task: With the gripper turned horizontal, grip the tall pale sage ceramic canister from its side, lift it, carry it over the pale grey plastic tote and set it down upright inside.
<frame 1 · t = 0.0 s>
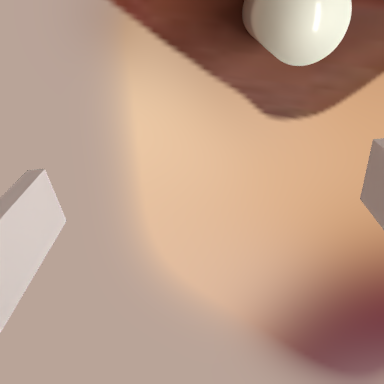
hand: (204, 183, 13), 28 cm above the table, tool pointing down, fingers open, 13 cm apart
canister: (270, 10, 34), on the table
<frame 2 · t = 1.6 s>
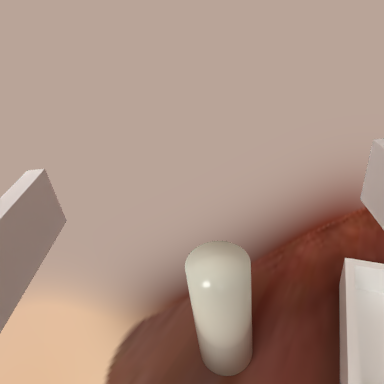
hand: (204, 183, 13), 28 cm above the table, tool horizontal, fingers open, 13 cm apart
canister: (226, 349, 36), on the table
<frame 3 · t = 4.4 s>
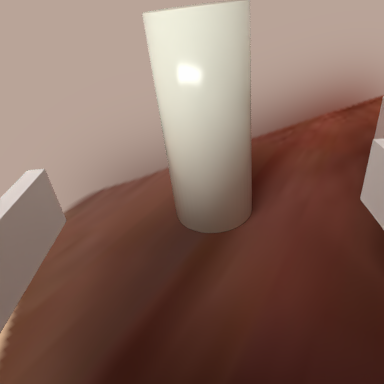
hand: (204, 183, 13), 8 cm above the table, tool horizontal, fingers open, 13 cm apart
canister: (213, 208, 25), on the table
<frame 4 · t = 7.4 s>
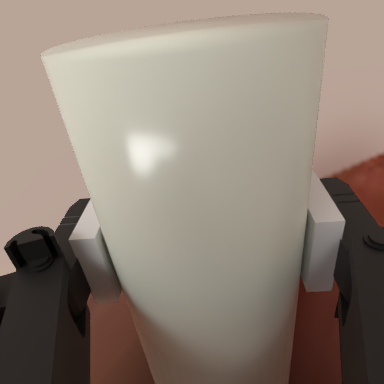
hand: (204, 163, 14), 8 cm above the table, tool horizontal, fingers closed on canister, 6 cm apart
canister: (220, 366, 14), on the table, touching gripper
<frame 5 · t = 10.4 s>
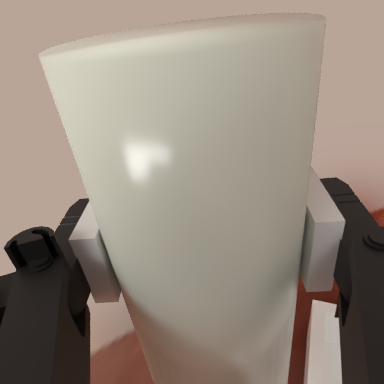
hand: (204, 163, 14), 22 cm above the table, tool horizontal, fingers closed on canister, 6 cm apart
canister: (219, 367, 14), point 14 cm above the table, touching gripper
when the fingers open (10 cm above the table, at t = 13.7 s): canister drops 1 cm, resting on tote.
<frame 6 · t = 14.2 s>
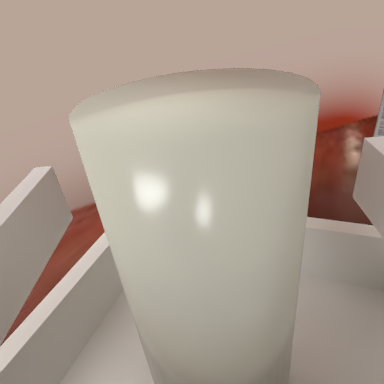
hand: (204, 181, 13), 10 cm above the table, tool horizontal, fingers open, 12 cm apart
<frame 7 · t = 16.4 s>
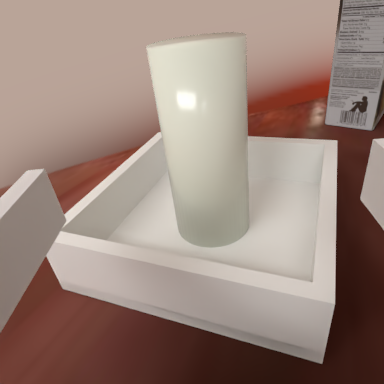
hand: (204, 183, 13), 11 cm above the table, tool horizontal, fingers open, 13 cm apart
tote: (214, 231, 27), on the table
canister: (213, 223, 26), point 1 cm above the table, touching tote
coffee box: (355, 118, 45), on the table
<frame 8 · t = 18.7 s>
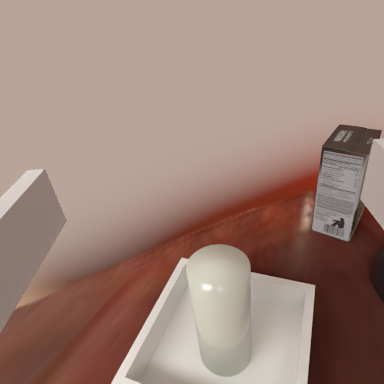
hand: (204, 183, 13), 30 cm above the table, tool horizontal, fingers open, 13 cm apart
tote: (226, 354, 37), on the table
canister: (225, 350, 37), point 1 cm above the table, touching tote
coffee box: (337, 222, 55), on the table
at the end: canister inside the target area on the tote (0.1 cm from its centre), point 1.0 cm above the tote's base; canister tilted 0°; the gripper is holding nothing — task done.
